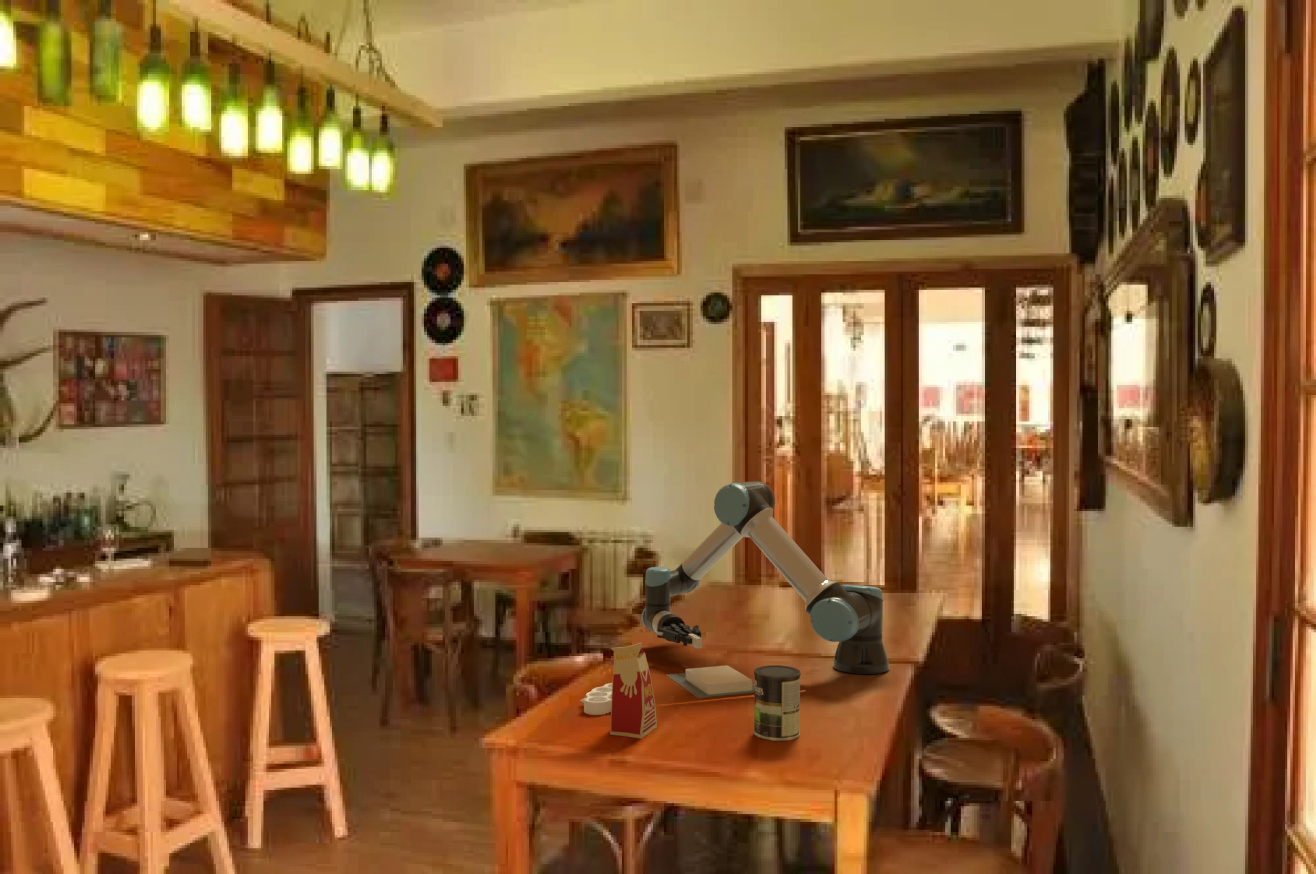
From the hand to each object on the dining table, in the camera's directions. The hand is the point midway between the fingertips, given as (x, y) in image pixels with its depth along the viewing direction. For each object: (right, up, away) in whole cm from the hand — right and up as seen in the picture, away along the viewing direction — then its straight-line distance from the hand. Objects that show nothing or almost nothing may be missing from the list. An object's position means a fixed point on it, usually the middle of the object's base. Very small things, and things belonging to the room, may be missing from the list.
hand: (699, 643), depth 277 cm
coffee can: (+15, -10, -50) cm, 53 cm away
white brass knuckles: (-22, -10, -27) cm, 37 cm away
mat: (+3, -9, -9) cm, 13 cm away
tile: (+2, -7, -5) cm, 8 cm away
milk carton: (-17, -10, -47) cm, 52 cm away
